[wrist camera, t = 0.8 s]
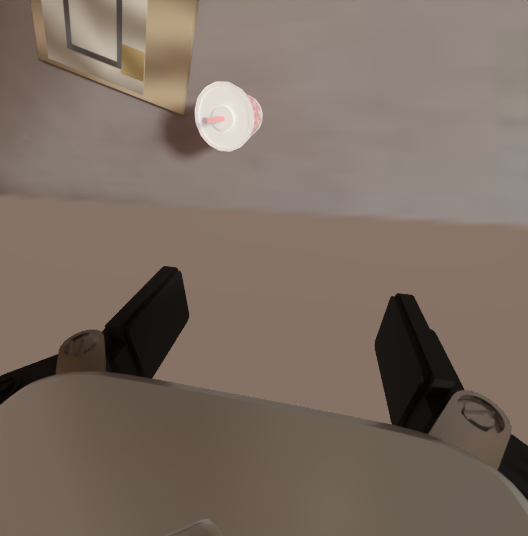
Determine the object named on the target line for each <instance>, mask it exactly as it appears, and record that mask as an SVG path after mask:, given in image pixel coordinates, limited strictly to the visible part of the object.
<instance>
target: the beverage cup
mask: <svg viewBox="0 0 528 536" xmlns="http://www.w3.org/2000/svg"><path fill="white" fill-rule="evenodd" d="M195 121H196V125H197V128H198V130H199V133H200V135H201V136H202V138H203V139H204V140H205V141H206V142H207V143H208V145H210V146H212V147H213V148H215V149H217V150H219V151H233V150H235V149H238V148H240V147H241V146H243V145H244V144H245V142H246V141H247V140H248V139H249V138H250V137H251V136H252V135H253V134H254V133H255V132H256V131H257V130H258V129H259V128H260V125H261V123H262V110H261V107H260V105H259V103H258V102H257V101H256V99H254V98H253V97H251V96H249V95H247V94H245V93H244V91H243V90H242V89H240V88H239V87H237V86H235V85H233V84H232V83H230V82H217V81H216V82H214V83H212V84H210V85H208V86H206V87H205V88H204V89H203V91H202V92H201V93H200V95H199V96H198V99H197V102H196V106H195Z"/></svg>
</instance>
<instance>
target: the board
mask: <svg viewBox="0 0 528 536" xmlns="http://www.w3.org/2000/svg"><path fill="white" fill-rule="evenodd" d="M30 1H31V8H32V15H33V22H34V29H35V36H36V43H37V50H38V57H39V59H40V60H43V61H46V62H48V63H51V64H53V65H56V66H58V67H61V68H64V69H66V70H69V71H71V72H74V73H76V74H79V75H81V76H84V77H87V78H89V79H92V80H94V81H97V82H99V83H102V84H105V85H107V86H110V87H112V88H115V89H117V90H120V91H122V92H125V93H128V94H130V95H133V96H135V97H138V98H140V99H143V100H146V101H148V102H151V103H153V104H156V105H158V106H161V107H163V108H166V109H169V110H171V111H174V112H176V113H179V114H181V115H184V114H185V106H186V98H187V90H188V82H189V74H190V66H191V58H192V50H193V42H194V34H195V25H196V17H197V9H198V1H199V0H30Z"/></svg>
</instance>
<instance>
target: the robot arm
mask: <svg viewBox="0 0 528 536" xmlns="http://www.w3.org/2000/svg"><path fill="white" fill-rule="evenodd" d="M188 319H189V311H188V305H187V300H186V295H185V289H184V284H183V279H182V273H181V272H180V271H178V269H177V268H176V267H168V266H164V267H162V268H161V269H160V270H159V271H158V272H157V273H156V274H155V275H154V276H153V277H152V278H151V279H150V280H149V281H148V283H147V284H146V285H144V287H143V288H142V289H141V290H140V291H139V292H138V293H137V294H136V295H135V296H134V297H133V298H132V299H131V300H130V301H129V302H128V303H127V304H126V305H125V306H124V307H123V308H122V309H121V310H120V311H119V312H118V313H117V314H116V315H115V316H114V317H113V318H112V319H111V320H110V321H109V322H108V323H107V324H106V325H105V329H104V330H103V331H102V332H101V331H99V330H85V331H81V332H79V333H77V334H74V335H73V336H71V337H70V338H68V339H67V340H66V341H64V343H63V344H62V345H61V346H60V349H59V352H58V354H57V355H54V356H52V357H49V358H46V359H44V360H41V361H38V362H36V363H33V364H30V365H28V366H25V367H22V368H20V369H17V370H14V371H12V372H9V373H6V374H4V375H1V376H0V536H528V446H527V445H526V444H524V443H523V442H522V441H520V440H519V439H518V438H516V437H515V436H513V435H512V434H511V431H512V427H511V424H510V421H509V419H508V417H507V416H506V415H505V413H504V412H503V411H502V410H501V409H500V408H499V407H498V406H497V405H496V404H495V403H494V402H492V401H491V400H490V399H488V398H486V397H485V396H483V395H481V394H479V393H476V392H473V391H468V390H464V388H463V386H462V384H461V382H460V380H459V378H458V376H457V374H456V372H455V370H454V368H453V366H452V364H451V362H450V360H449V359H448V357H447V354H446V353H445V350H444V349H443V346H442V345H441V343H440V341H439V339H438V337H437V335H436V333H435V332H434V331H433V330H431V329H430V328H429V326H428V324H427V322H426V320H425V318H424V316H423V314H422V312H421V310H420V308H419V306H418V304H417V302H416V300H415V298H414V296H413V295H408V294H399V293H397V294H396V295H395V297H394V296H391V298H390V300H389V303H388V306H387V309H386V312H385V314H384V317H383V320H382V323H381V326H380V329H379V332H378V334H377V337H376V340H375V351H376V356H377V360H378V365H379V370H380V373H381V379H382V383H383V387H384V392H385V396H386V401H387V405H388V410H389V414H390V419H391V423H392V425H391V424H386V423H381V422H377V421H372V420H367V419H363V418H357V417H353V416H348V415H343V414H338V413H333V412H328V411H322V410H317V409H312V408H307V407H301V406H297V405H291V404H286V403H280V402H275V401H270V400H265V399H260V398H254V397H249V396H244V395H239V394H233V393H228V392H222V391H217V390H211V389H206V388H201V387H195V386H190V385H184V384H179V383H173V382H168V381H162V380H156V379H152V378H153V376H154V374H155V373H156V371H157V370H158V368H159V367H160V365H161V363H162V362H163V360H164V358H165V357H166V355H167V354H168V352H169V350H170V349H171V347H172V346H173V344H174V342H175V341H176V339H177V337H178V335H179V334H180V333H181V331H182V329H183V328H184V326H185V324H186V323H187V321H188Z"/></svg>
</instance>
